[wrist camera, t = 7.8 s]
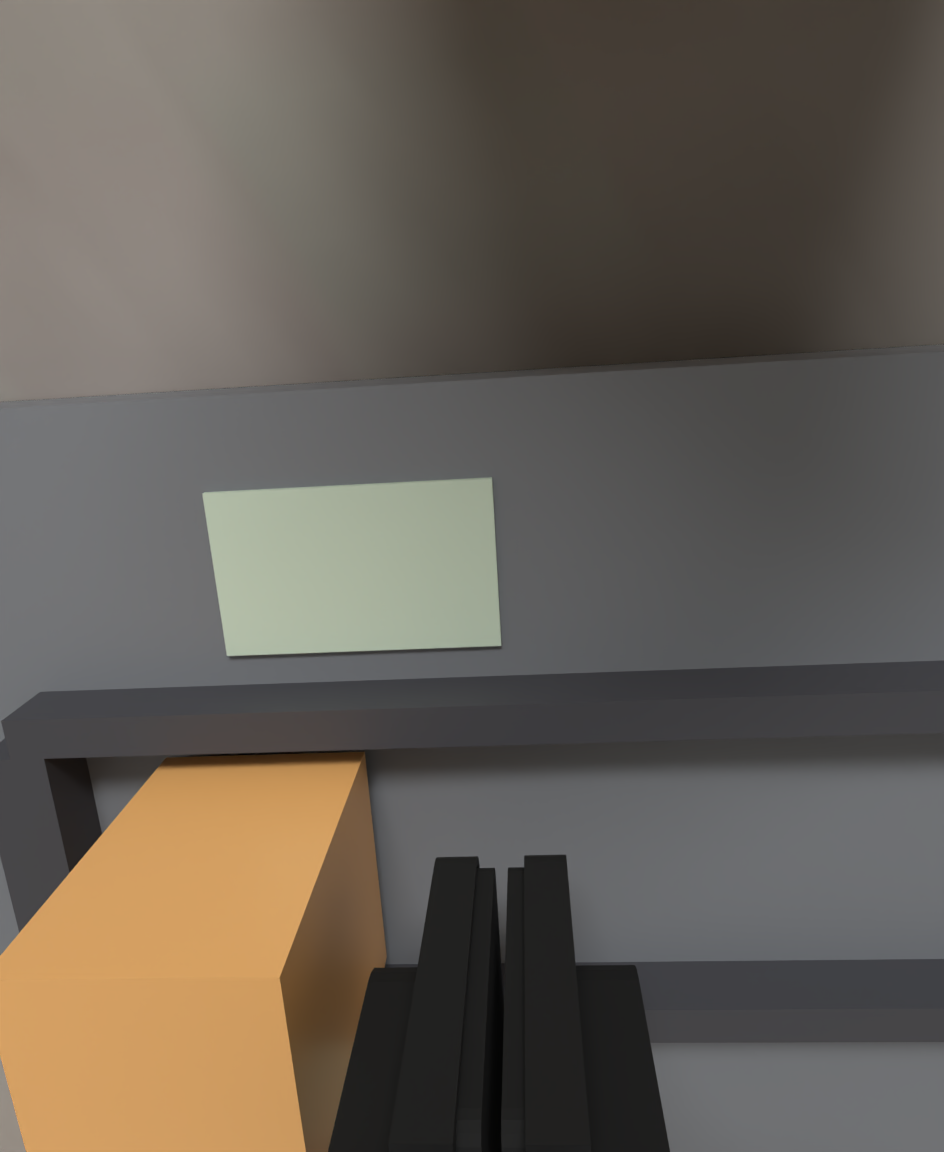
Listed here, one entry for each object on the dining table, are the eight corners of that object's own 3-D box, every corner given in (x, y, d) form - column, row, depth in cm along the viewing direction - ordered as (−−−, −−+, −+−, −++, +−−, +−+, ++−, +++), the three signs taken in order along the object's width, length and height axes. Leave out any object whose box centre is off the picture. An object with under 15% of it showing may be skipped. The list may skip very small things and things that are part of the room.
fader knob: (364, 752, 12) (280, 977, 8) (386, 956, 13) (321, 1255, 9) (166, 757, 13) (-21, 979, 8) (202, 958, 14) (53, 1251, 9)
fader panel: (1554, 306, 12) (1883, 299, 9) (1335, 1092, 16) (1517, 1262, 13) (-63, 406, 14) (-221, 425, 11) (96, 1090, 17) (12, 1239, 15)
